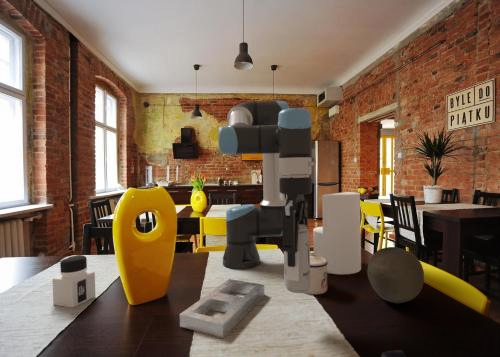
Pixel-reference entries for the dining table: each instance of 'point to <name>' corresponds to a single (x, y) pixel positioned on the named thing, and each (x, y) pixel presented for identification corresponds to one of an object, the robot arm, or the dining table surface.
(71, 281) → the container
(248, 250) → the robot arm
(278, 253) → the dining table surface
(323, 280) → the teacup with lid
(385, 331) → the dining table surface
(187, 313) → the rail
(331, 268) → the cylinder
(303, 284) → the energy drink can
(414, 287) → the cantaloupe
